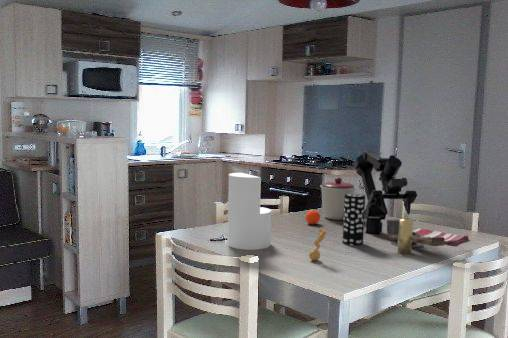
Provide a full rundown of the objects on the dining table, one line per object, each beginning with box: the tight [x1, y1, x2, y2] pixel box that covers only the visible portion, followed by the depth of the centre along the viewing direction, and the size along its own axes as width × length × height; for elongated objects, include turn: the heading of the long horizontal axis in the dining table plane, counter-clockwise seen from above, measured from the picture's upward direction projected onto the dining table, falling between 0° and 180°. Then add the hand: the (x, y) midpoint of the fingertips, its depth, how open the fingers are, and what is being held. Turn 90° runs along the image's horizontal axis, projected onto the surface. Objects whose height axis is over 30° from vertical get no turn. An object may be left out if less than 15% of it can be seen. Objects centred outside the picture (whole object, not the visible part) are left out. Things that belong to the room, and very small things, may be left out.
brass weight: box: [397, 217, 414, 255], centre depth 199 cm, size 5×5×13 cm
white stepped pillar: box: [227, 172, 272, 251], centre depth 206 cm, size 17×17×28 cm
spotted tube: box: [342, 193, 366, 247], centre depth 212 cm, size 8×8×20 cm
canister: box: [319, 176, 357, 221], centre depth 263 cm, size 18×18×21 cm
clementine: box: [305, 209, 321, 225], centre depth 248 cm, size 8×7×7 cm
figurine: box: [308, 228, 327, 262], centre depth 185 cm, size 8×6×12 cm
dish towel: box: [412, 227, 469, 247], centre depth 226 cm, size 17×23×3 cm
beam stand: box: [390, 232, 425, 249], centre depth 211 cm, size 8×10×5 cm
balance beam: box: [386, 219, 445, 247], centre depth 207 cm, size 29×5×7 cm, turn 21°
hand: (398, 213), depth 207 cm, fingers open, 9 cm apart
